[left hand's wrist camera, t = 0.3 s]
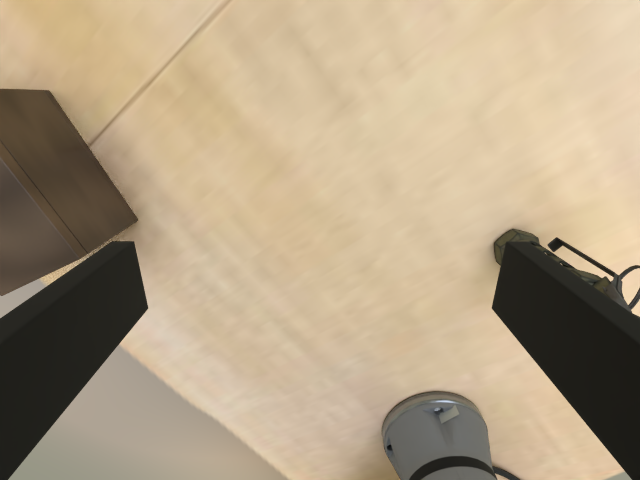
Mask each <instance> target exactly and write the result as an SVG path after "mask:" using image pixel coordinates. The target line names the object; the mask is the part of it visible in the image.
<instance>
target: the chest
mask: <svg viewBox="0 0 640 480" xmlns="http://www.w3.org/2000/svg"><path fill="white" fill-rule="evenodd" d="M0 141H1V143H2V144H3V145H4V146H5V148H6V149H7V150H8V152H9V153H10V154H11V155H12V157H13V158H14V159H15V161H16V162H17V163H18V165H19V166H20V167H21V168H22V170H23V171H24V172H25V174H26V175H27V176H28V177H29V179H30V180H31V181H32V183H33V184H34V185H35V187H36V188H37V189H38V190H39V192H40V193H41V194H42V196H43V197H44V198H45V199H46V201H47V202H48V203H49V205H50V206H51V207H52V209H53V210H54V211H55V212H56V214H57V215H58V216H59V218H60V219H61V220H62V221H63V223H64V224H65V225H66V227H67V228H68V229H69V230H70V232H71V233H72V234H73V236H74V237H75V238H76V240H77V241H78V242H79V243H80V245H81V246H82V247H83V249H84V250H85V251H86V252H87V254H88V253H90V252H91V251H93V250H94V249H96V248H97V247H99V246H100V245H102V244H103V243H105V242H106V241H108V240H109V239H111V238H112V237H114V236H115V235H117V234H118V233H120V232H121V231H123V230H124V229H126V228H127V227H129V226H130V225H132V224H133V223H135V222H136V221H138V219H137V218H136V216H135V215H134V213H133V212H132V210H131V209H130V207H129V206H128V204H127V203H126V202H125V200H124V199H123V197H122V196H121V194H120V193H119V191H118V190H117V188H116V187H115V186H114V184H113V183H112V181H111V180H110V178H109V177H108V175H107V174H106V173H105V171H104V170H103V168H102V167H101V165H100V164H99V162H98V161H97V159H96V158H95V157H94V155H93V154H92V152H91V151H90V149H89V148H88V146H87V145H86V143H85V142H84V141H83V139H82V138H81V136H80V135H79V133H78V132H77V130H76V129H75V127H74V126H73V125H72V123H71V122H70V120H69V119H68V117H67V116H66V114H65V113H64V111H63V110H62V109H61V107H60V106H59V104H58V103H57V101H56V100H55V98H54V97H53V95H52V94H51V93H50V91H49V90H24V89H0Z"/></svg>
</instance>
